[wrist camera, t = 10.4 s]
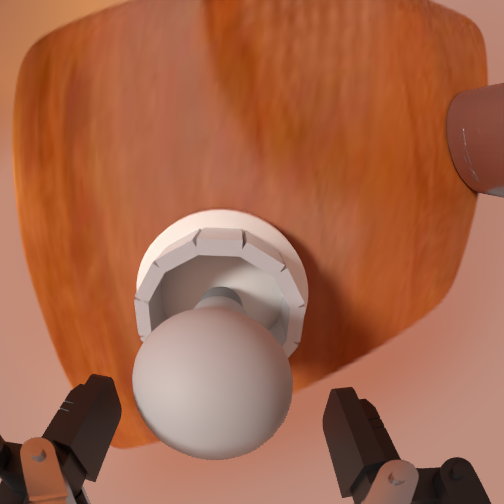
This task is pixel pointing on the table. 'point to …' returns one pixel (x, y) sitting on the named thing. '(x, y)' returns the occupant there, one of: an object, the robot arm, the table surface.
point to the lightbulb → (212, 380)
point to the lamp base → (224, 272)
